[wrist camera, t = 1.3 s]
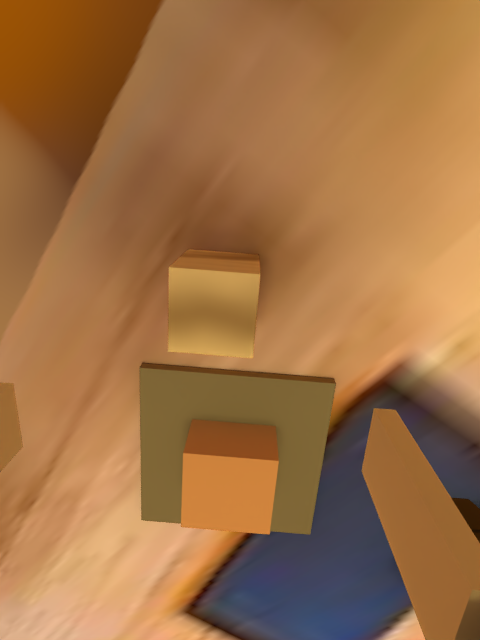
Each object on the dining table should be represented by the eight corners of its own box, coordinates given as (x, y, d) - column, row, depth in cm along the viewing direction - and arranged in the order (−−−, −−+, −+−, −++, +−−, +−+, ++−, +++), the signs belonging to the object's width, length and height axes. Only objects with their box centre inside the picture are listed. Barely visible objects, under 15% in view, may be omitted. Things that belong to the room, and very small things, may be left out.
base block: (192, 419, 37) (183, 453, 32) (275, 426, 37) (278, 461, 32) (189, 486, 40) (180, 526, 35) (267, 492, 40) (269, 534, 35)
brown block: (188, 248, 33) (168, 267, 25) (258, 254, 33) (260, 274, 25) (186, 315, 35) (167, 351, 27) (253, 321, 35) (252, 358, 27)
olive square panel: (142, 363, 36) (139, 367, 35) (333, 378, 36) (336, 383, 35) (144, 512, 42) (141, 520, 41) (308, 526, 42) (310, 534, 41)
